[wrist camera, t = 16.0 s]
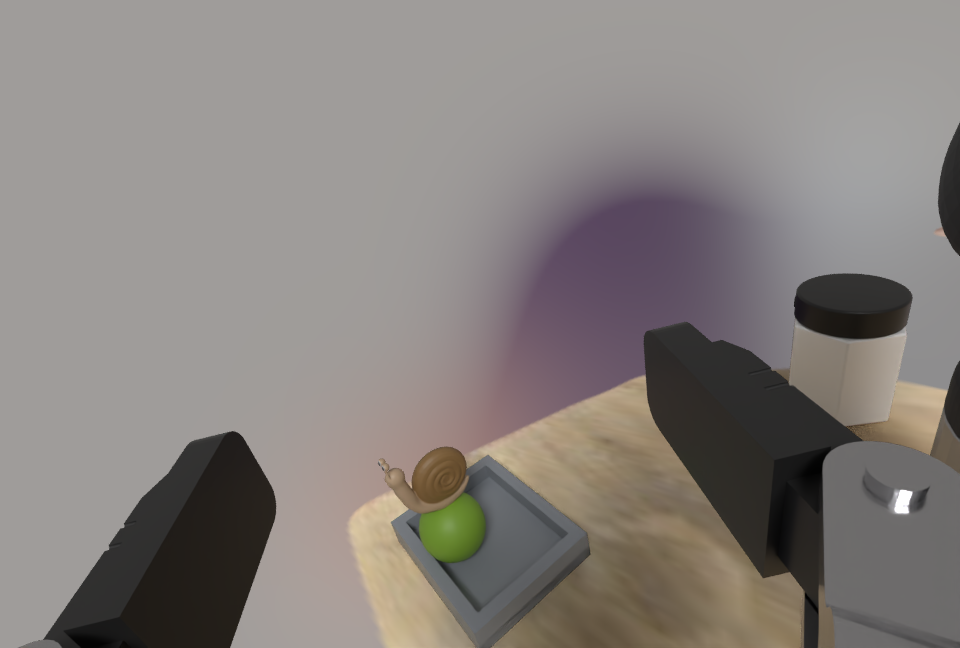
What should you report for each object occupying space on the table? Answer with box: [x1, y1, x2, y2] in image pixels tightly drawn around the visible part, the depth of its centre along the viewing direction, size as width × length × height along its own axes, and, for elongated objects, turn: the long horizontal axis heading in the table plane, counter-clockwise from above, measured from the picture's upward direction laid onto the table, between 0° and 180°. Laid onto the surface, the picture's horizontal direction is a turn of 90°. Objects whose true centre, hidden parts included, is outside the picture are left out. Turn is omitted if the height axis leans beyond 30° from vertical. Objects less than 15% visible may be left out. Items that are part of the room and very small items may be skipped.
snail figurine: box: [378, 447, 486, 563], centre depth 37 cm, size 5×6×12 cm
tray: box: [391, 455, 590, 648], centre depth 40 cm, size 11×13×2 cm
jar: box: [789, 274, 912, 426], centre depth 44 cm, size 9×8×12 cm
